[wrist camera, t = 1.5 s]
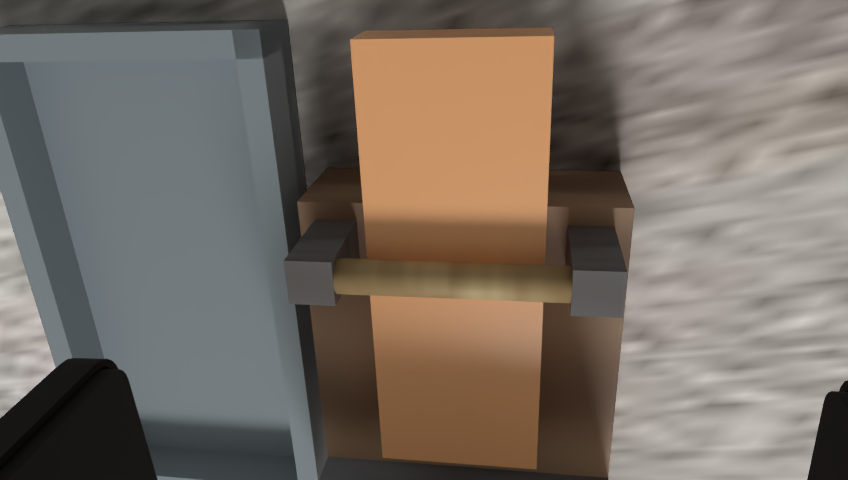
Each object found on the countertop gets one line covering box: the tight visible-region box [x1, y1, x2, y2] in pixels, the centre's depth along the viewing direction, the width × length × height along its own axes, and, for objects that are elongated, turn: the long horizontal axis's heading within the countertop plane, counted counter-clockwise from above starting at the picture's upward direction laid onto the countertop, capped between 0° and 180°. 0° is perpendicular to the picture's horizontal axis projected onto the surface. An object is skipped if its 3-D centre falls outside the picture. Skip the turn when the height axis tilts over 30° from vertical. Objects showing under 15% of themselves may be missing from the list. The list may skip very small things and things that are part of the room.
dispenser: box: [283, 168, 634, 480], centre depth 24 cm, size 16×12×14 cm
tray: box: [0, 20, 328, 480], centre depth 30 cm, size 22×12×3 cm, turn 2°
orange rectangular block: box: [350, 27, 554, 469], centre depth 24 cm, size 16×6×2 cm, turn 2°
